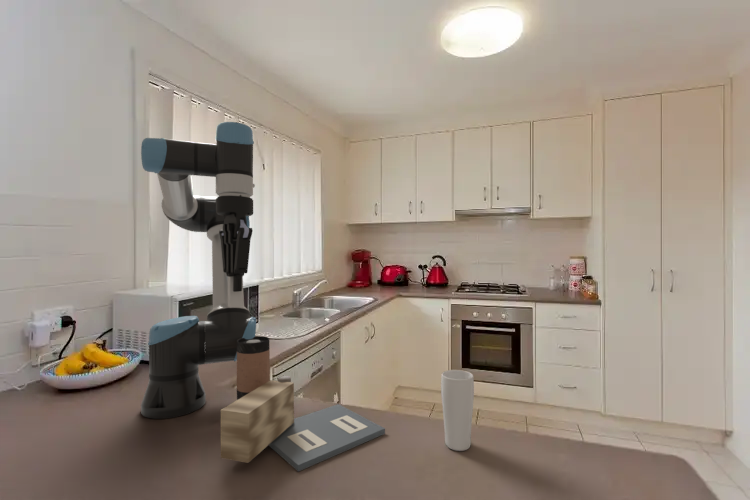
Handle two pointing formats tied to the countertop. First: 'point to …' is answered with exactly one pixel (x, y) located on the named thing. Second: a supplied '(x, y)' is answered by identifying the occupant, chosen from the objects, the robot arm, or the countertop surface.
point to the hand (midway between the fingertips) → (235, 306)
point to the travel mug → (252, 364)
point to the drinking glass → (457, 408)
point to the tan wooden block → (256, 419)
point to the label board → (323, 436)
